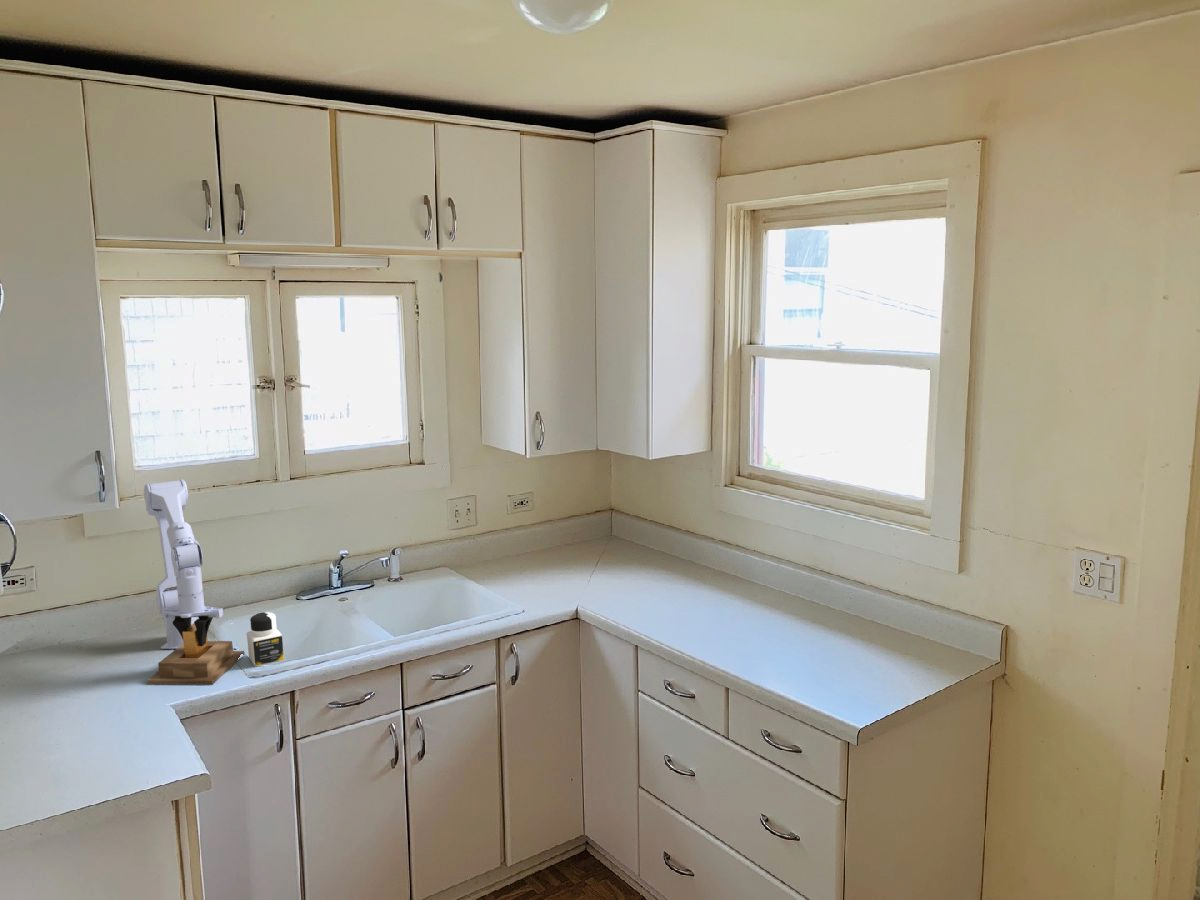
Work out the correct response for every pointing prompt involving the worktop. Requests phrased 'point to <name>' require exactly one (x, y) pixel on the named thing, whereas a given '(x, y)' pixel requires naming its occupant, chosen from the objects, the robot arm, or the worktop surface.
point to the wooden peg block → (193, 643)
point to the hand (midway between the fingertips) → (195, 644)
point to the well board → (196, 665)
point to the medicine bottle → (264, 640)
